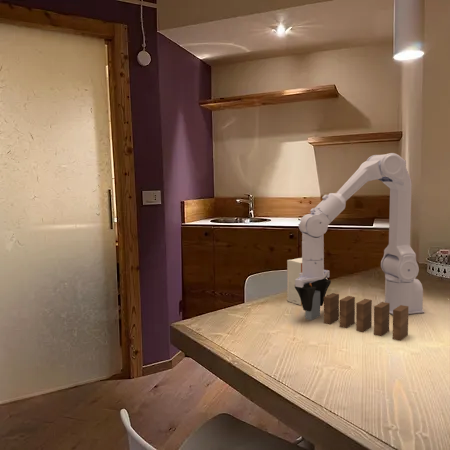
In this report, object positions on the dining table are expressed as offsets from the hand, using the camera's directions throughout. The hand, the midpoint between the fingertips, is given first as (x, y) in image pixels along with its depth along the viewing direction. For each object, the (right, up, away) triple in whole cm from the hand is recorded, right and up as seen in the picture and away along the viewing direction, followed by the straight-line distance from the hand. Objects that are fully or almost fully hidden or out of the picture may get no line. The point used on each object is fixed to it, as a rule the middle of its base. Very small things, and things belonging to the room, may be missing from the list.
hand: (313, 307), depth 117 cm
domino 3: (+11, -3, -9) cm, 15 cm away
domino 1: (+4, -3, -3) cm, 6 cm away
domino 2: (+7, -3, -6) cm, 10 cm away
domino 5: (+17, -4, -16) cm, 24 cm away
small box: (0, -1, +16) cm, 16 cm away
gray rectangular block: (0, -3, 0) cm, 3 cm away
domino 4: (+14, -4, -12) cm, 19 cm away
